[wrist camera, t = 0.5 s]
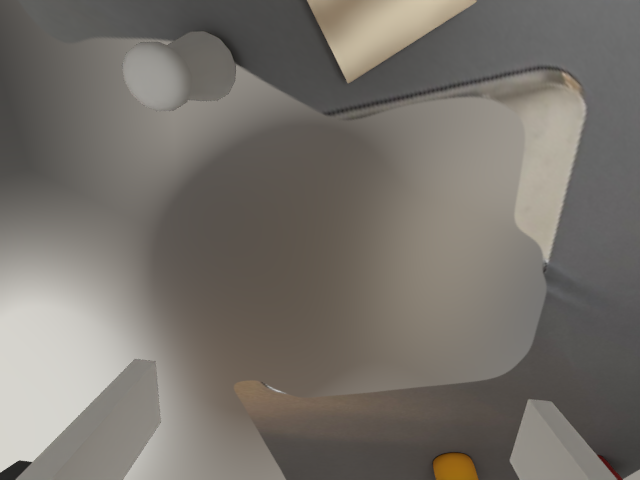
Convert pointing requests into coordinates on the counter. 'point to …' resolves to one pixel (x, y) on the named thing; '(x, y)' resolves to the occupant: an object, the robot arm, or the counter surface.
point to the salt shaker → (179, 71)
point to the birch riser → (378, 27)
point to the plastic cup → (610, 468)
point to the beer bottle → (454, 467)
